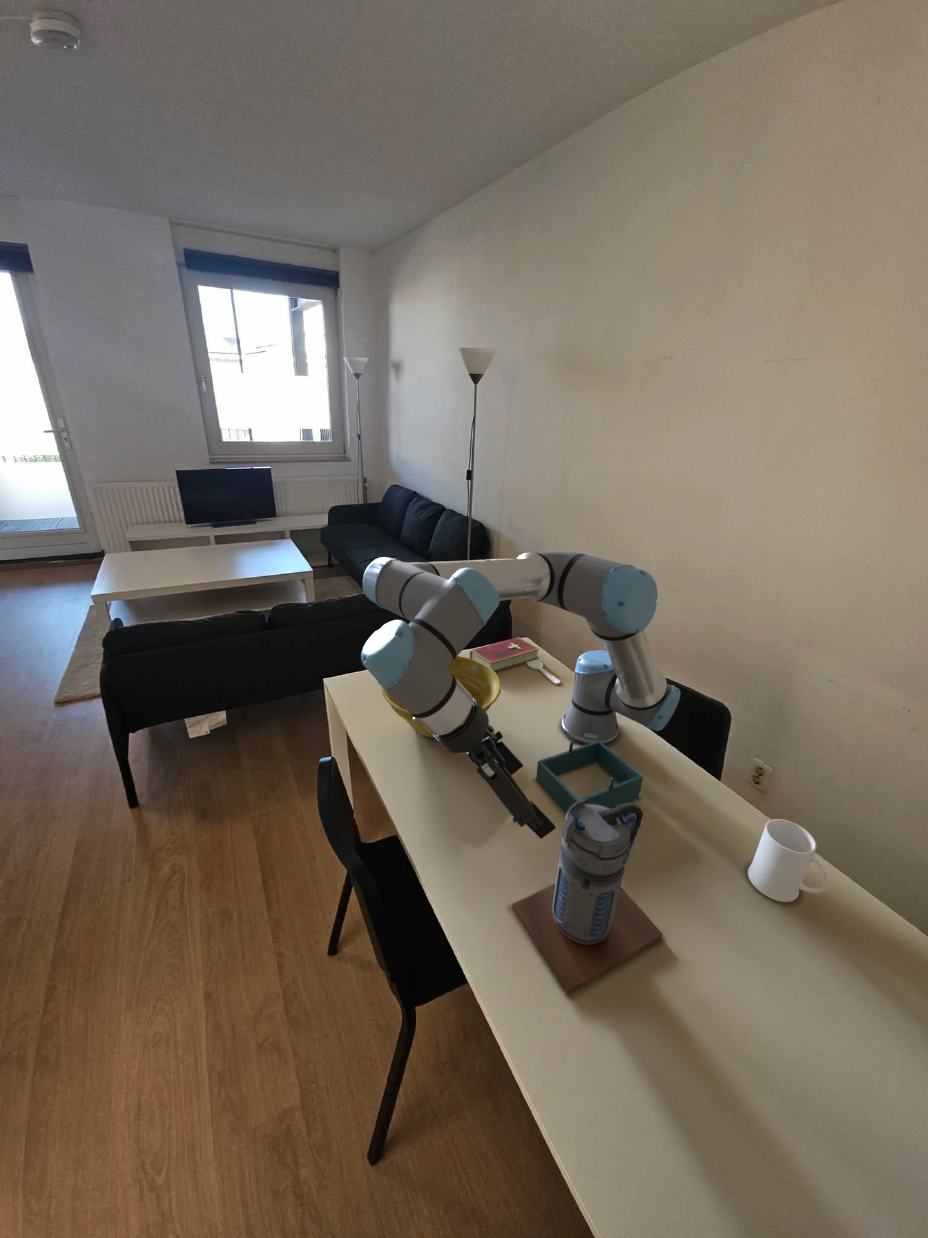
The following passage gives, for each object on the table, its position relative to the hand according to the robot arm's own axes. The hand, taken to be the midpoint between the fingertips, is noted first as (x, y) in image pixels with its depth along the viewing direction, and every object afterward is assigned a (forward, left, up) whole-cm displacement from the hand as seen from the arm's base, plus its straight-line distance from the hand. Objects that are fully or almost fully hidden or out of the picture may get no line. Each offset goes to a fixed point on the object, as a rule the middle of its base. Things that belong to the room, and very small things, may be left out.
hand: (530, 798), depth 78 cm
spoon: (-55, -70, -27) cm, 93 cm away
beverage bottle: (-10, +6, -26) cm, 28 cm away
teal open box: (-32, -20, -27) cm, 46 cm away
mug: (-48, +17, -27) cm, 57 cm away
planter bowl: (-12, -58, -27) cm, 65 cm away
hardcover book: (-48, -83, -27) cm, 99 cm away
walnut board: (-10, +6, -27) cm, 29 cm away
